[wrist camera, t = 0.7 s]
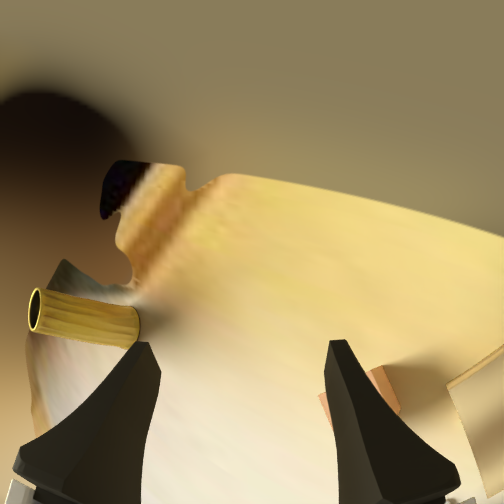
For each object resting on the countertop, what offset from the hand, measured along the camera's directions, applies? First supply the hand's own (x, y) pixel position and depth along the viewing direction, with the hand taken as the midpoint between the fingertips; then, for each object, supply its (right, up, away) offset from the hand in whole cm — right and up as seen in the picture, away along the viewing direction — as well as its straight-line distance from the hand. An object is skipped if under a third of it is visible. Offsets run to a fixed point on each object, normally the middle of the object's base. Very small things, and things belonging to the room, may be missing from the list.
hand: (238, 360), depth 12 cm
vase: (-17, -6, +28) cm, 33 cm away
